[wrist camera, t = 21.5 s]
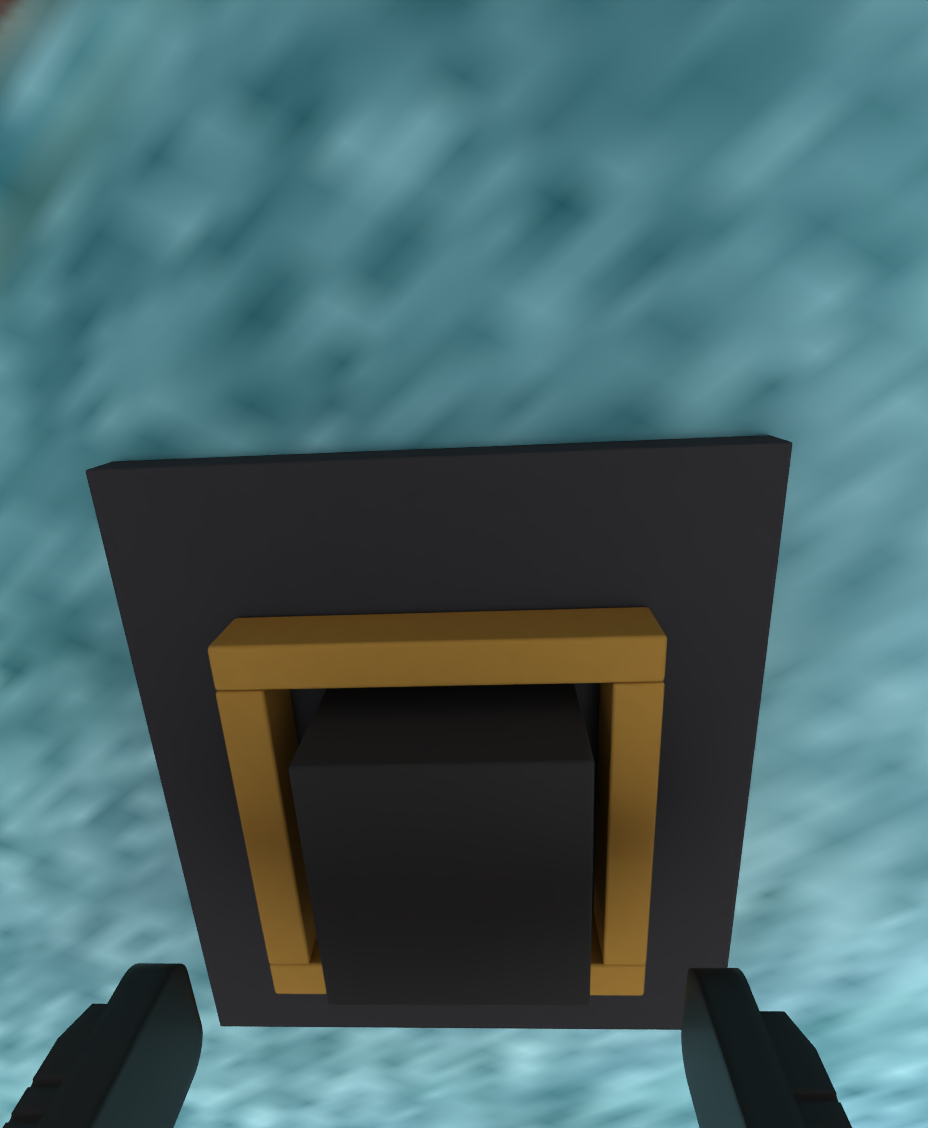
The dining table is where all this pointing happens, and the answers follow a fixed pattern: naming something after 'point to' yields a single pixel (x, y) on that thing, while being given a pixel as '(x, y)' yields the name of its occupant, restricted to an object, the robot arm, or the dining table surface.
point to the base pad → (455, 676)
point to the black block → (449, 844)
